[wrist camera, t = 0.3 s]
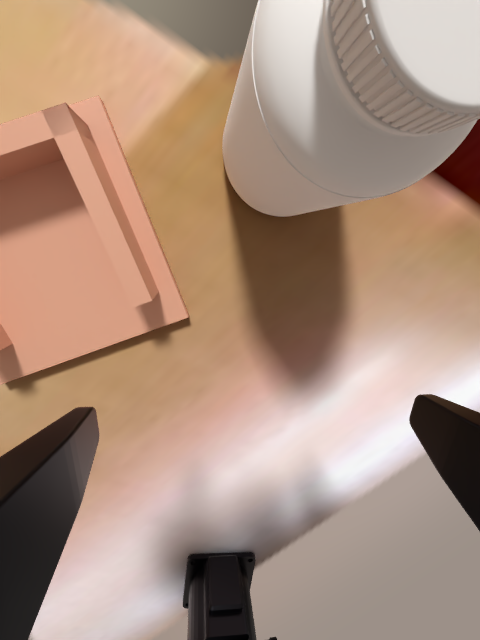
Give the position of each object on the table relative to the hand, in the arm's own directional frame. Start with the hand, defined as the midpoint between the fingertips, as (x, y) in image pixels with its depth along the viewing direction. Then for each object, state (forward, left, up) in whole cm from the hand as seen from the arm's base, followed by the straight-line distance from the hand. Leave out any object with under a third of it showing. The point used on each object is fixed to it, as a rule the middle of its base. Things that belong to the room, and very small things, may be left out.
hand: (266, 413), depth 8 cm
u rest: (+2, +12, -14) cm, 19 cm away
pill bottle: (+10, -3, -15) cm, 18 cm away
